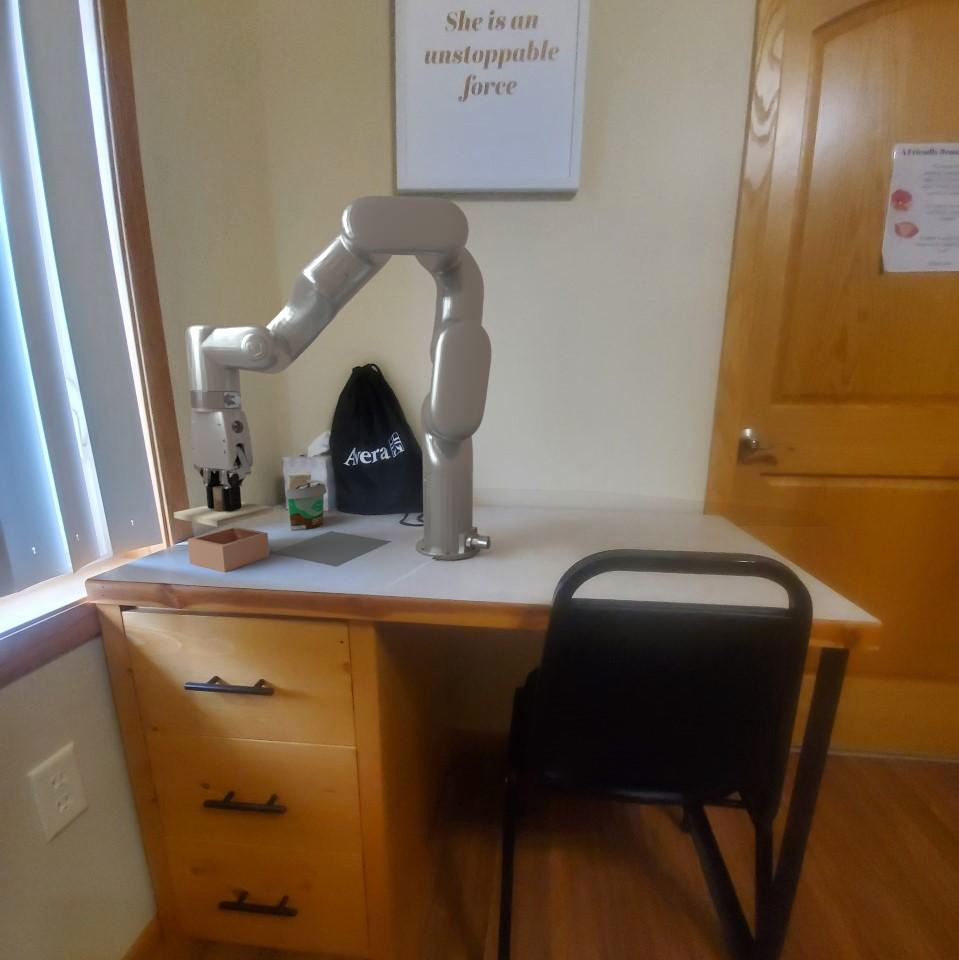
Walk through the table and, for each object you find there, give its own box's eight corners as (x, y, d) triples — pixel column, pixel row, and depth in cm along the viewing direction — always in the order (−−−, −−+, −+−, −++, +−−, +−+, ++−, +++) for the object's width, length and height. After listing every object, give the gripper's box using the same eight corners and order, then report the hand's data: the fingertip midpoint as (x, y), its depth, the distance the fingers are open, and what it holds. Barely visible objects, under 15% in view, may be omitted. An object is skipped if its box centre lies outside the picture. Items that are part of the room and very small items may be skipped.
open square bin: (269, 559, 88) (267, 532, 87) (225, 575, 80) (222, 546, 79) (235, 551, 92) (233, 526, 91) (190, 566, 84) (187, 539, 83)
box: (290, 521, 114) (287, 475, 112) (288, 516, 118) (285, 472, 116) (313, 518, 117) (311, 473, 115) (310, 514, 120) (308, 470, 118)
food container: (317, 535, 103) (314, 489, 101) (288, 535, 103) (285, 489, 101) (335, 520, 115) (333, 479, 113) (310, 520, 115) (307, 479, 113)
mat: (391, 544, 97) (391, 541, 97) (336, 569, 83) (336, 566, 83) (330, 533, 104) (330, 531, 104) (270, 555, 90) (270, 552, 90)
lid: (273, 512, 87) (271, 485, 86) (217, 526, 77) (215, 496, 76) (231, 505, 92) (230, 479, 91) (174, 518, 82) (171, 489, 81)
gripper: (269, 403, 81) (275, 509, 84) (205, 401, 88) (213, 499, 91) (229, 403, 74) (238, 519, 77) (163, 401, 81) (173, 507, 84)
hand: (224, 507), depth 84 cm, fingers closed on lid, 3 cm apart
